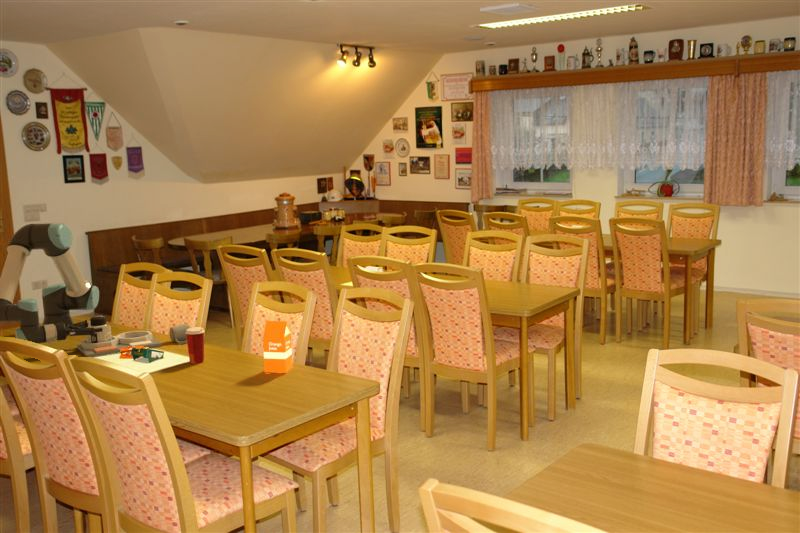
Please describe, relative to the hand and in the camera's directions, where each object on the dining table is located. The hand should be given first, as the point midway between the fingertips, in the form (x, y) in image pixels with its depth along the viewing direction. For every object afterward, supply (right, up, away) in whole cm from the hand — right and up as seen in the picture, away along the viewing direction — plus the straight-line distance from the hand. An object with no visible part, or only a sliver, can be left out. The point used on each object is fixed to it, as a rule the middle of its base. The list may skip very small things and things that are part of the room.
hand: (106, 325), depth 346 cm
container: (-2, -9, -1) cm, 9 cm away
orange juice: (+84, -15, -43) cm, 96 cm away
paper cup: (+48, -13, -27) cm, 56 cm away
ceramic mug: (+31, -8, +8) cm, 34 cm away
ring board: (+5, -10, +1) cm, 11 cm away
